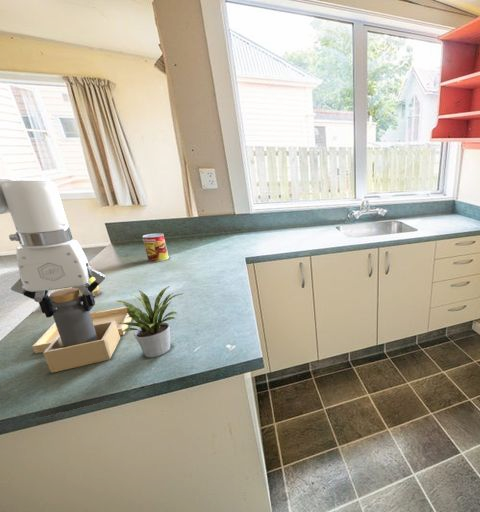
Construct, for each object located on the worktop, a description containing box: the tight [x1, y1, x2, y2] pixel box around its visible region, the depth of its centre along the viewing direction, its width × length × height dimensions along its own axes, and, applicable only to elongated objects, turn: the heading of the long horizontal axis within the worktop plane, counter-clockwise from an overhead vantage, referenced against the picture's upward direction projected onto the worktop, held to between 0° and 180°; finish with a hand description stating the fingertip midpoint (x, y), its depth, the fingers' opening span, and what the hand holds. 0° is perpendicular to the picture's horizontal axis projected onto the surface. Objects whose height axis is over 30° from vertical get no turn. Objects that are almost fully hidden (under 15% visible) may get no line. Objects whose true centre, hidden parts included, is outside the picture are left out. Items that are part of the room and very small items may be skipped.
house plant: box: [111, 285, 185, 358], centre depth 73 cm, size 14×14×16 cm
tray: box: [31, 306, 133, 355], centre depth 83 cm, size 17×15×2 cm
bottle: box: [49, 287, 98, 347], centre depth 70 cm, size 6×6×15 cm
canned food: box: [142, 232, 170, 263], centre depth 140 cm, size 8×8×12 cm
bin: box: [42, 321, 121, 374], centre depth 73 cm, size 10×10×5 cm
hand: (71, 311), depth 70 cm, fingers closed on bottle, 5 cm apart
